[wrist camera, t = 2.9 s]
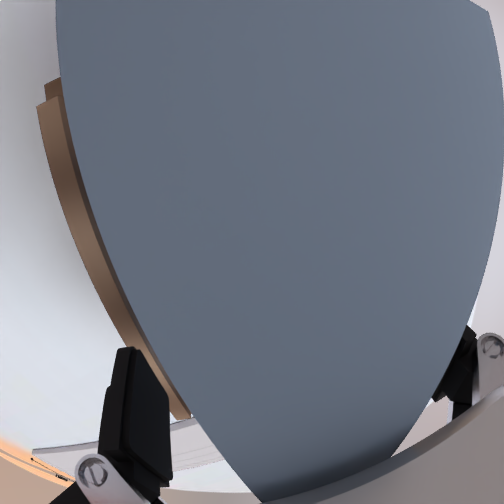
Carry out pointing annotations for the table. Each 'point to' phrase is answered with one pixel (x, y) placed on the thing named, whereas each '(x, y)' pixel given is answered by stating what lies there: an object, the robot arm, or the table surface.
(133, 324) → the rack
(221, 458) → the baseboard molding
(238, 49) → the blue rectangular block
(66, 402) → the table surface
